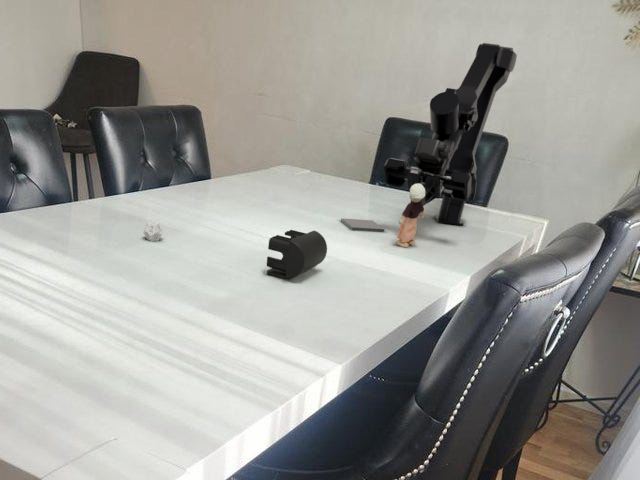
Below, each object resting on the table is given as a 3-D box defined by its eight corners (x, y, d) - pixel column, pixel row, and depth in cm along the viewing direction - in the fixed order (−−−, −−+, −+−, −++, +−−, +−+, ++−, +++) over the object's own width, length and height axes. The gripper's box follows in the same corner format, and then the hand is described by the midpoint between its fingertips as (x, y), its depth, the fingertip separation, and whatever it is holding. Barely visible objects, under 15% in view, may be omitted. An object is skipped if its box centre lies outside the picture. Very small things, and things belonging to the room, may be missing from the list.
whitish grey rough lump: (139, 238, 122) (139, 221, 120) (155, 236, 124) (155, 219, 123) (151, 243, 120) (151, 226, 119) (166, 241, 123) (167, 224, 121)
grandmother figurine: (405, 234, 143) (419, 176, 134) (420, 240, 142) (435, 182, 133) (387, 246, 139) (401, 186, 130) (403, 252, 137) (418, 193, 128)
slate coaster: (340, 220, 153) (341, 218, 153) (372, 222, 155) (372, 220, 155) (351, 230, 147) (352, 227, 146) (384, 231, 149) (384, 229, 148)
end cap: (300, 285, 110) (306, 244, 106) (264, 275, 112) (268, 235, 108) (324, 272, 117) (330, 234, 114) (289, 263, 120) (294, 225, 116)
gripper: (396, 114, 135) (366, 177, 133) (483, 130, 129) (453, 195, 127) (400, 154, 145) (373, 212, 143) (481, 169, 139) (453, 231, 137)
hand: (411, 212), depth 137 cm, fingers closed
